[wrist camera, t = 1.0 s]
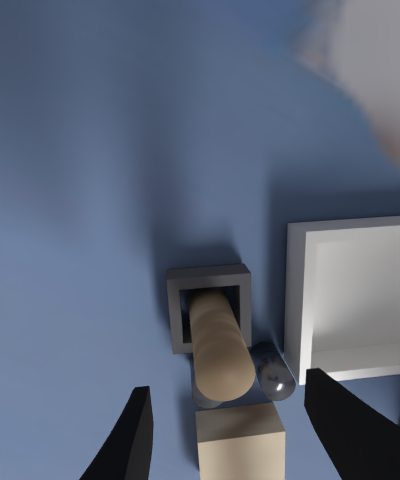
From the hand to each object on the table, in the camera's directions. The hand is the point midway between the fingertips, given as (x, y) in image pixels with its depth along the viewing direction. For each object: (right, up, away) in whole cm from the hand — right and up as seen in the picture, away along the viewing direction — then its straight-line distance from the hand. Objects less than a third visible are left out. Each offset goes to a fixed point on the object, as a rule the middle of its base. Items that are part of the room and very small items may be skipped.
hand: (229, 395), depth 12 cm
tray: (+11, +3, +10) cm, 15 cm away
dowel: (-1, +2, +9) cm, 9 cm away
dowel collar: (-1, +2, +9) cm, 9 cm away
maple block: (+2, -11, +13) cm, 17 cm away
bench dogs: (+2, -3, +10) cm, 11 cm away
